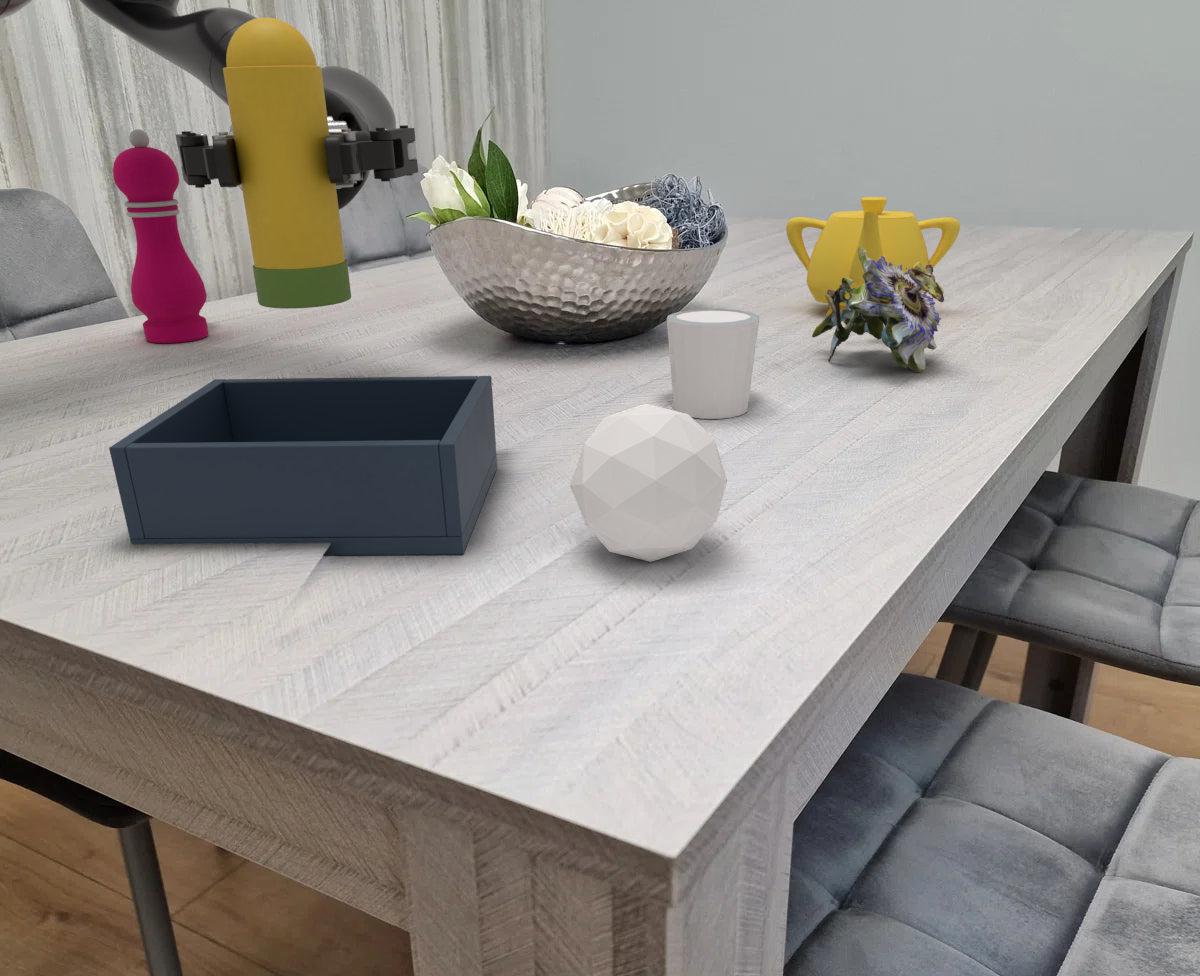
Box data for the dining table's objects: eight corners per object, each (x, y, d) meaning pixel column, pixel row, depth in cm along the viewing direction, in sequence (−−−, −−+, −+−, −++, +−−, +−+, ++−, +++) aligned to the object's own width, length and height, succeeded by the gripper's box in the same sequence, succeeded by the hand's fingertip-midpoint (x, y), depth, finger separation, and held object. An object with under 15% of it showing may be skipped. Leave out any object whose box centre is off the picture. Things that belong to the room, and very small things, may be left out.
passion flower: (907, 431, 92) (929, 336, 81) (789, 398, 95) (796, 303, 84) (944, 339, 96) (970, 238, 86) (830, 310, 99) (842, 209, 89)
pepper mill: (161, 347, 105) (117, 130, 96) (128, 339, 109) (83, 130, 101) (226, 336, 110) (190, 128, 101) (192, 328, 114) (155, 128, 106)
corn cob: (245, 309, 55) (196, 15, 49) (274, 293, 60) (232, 22, 54) (338, 307, 55) (300, 12, 49) (360, 291, 60) (328, 19, 54)
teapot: (770, 311, 116) (775, 198, 111) (862, 297, 123) (870, 190, 118) (861, 330, 106) (871, 205, 101) (956, 313, 113) (970, 196, 107)
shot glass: (679, 395, 83) (680, 305, 80) (764, 400, 81) (768, 309, 78) (654, 417, 78) (654, 322, 75) (745, 424, 75) (749, 326, 72)
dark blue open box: (133, 556, 55) (108, 447, 53) (230, 469, 68) (214, 379, 66) (463, 554, 54) (454, 443, 52) (497, 467, 68) (491, 375, 65)
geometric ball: (666, 583, 57) (739, 456, 57) (682, 594, 49) (768, 446, 49) (545, 514, 57) (618, 386, 56) (543, 514, 49) (627, 364, 48)
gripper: (429, 206, 70) (429, 235, 55) (208, 214, 68) (144, 246, 53) (418, 81, 66) (415, 75, 51) (186, 86, 65) (111, 81, 50)
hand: (278, 162), depth 52 cm, fingers closed on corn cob, 5 cm apart
